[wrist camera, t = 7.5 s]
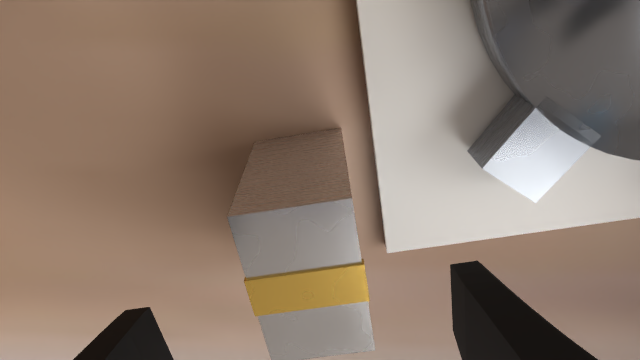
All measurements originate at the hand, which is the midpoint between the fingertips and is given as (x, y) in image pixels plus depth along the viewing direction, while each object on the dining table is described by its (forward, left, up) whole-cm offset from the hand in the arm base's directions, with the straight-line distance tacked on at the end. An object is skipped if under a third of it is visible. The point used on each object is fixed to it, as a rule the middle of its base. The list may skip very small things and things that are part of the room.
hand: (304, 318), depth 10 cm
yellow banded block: (0, 0, -6) cm, 6 cm away
